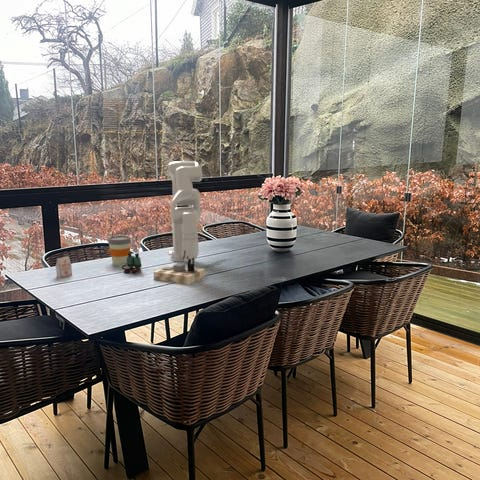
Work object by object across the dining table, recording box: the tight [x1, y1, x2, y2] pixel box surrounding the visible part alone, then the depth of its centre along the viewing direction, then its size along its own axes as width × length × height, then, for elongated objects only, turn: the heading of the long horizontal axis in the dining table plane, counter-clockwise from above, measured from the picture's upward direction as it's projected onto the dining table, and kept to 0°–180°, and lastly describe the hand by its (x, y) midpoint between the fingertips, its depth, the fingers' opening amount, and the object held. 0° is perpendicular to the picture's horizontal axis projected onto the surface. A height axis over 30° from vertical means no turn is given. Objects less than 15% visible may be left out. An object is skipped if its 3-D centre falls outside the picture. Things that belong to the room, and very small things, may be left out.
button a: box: [161, 266, 174, 271], centre depth 255 cm, size 4×4×4 cm
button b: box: [172, 262, 186, 272], centre depth 251 cm, size 4×4×4 cm
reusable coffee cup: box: [107, 235, 131, 266], centre depth 281 cm, size 13×13×15 cm
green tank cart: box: [121, 251, 143, 275], centre depth 261 cm, size 9×11×10 cm
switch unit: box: [153, 264, 206, 285], centre depth 252 cm, size 21×16×4 cm
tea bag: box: [55, 256, 73, 279], centre depth 256 cm, size 4×7×10 cm, turn 141°
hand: (191, 271), depth 248 cm, fingers closed
